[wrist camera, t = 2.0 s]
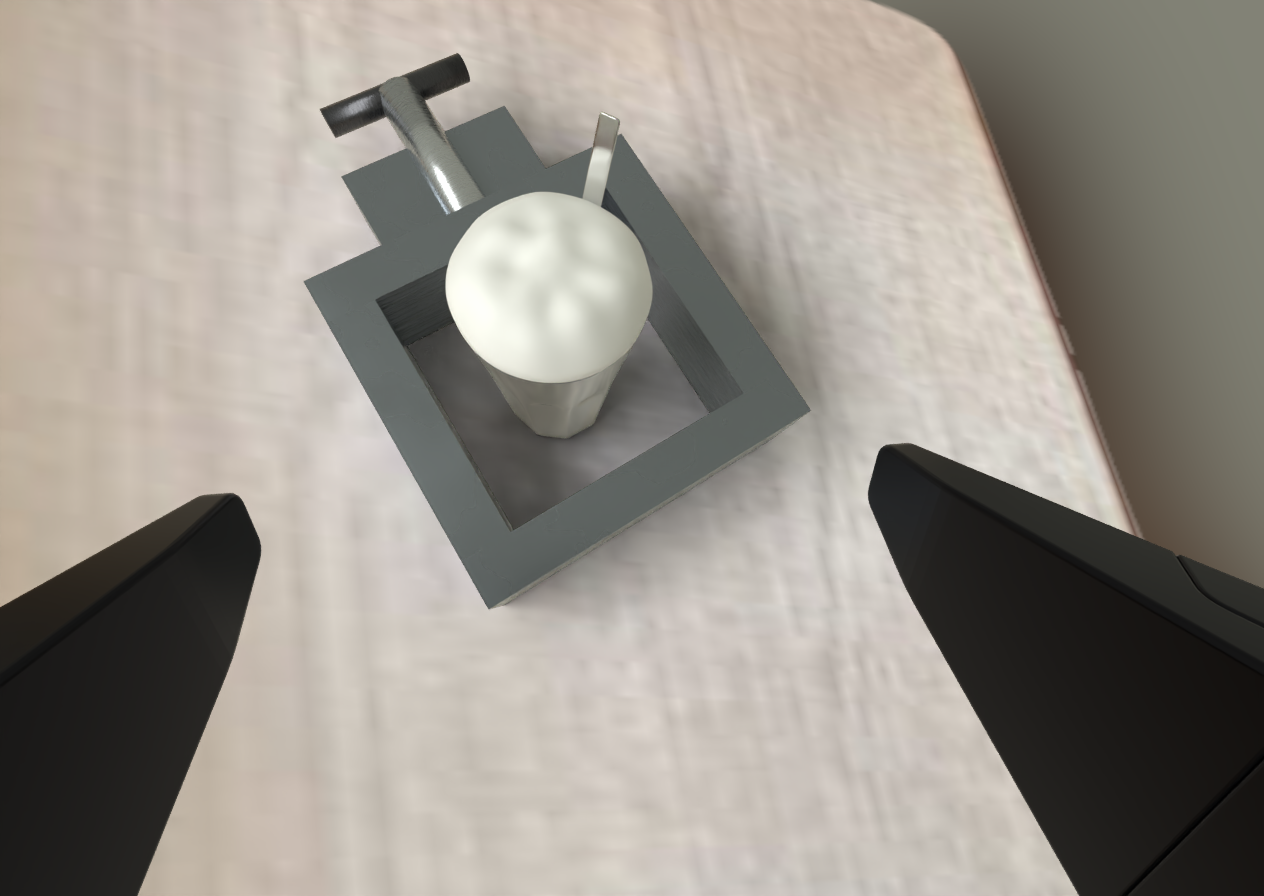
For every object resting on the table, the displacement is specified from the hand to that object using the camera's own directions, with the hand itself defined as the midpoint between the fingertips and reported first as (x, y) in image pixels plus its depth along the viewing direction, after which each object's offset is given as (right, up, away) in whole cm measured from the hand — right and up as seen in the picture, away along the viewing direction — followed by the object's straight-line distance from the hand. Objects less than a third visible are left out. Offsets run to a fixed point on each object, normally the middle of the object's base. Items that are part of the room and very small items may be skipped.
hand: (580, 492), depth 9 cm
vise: (-3, +5, +13) cm, 15 cm away
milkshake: (-2, +3, +13) cm, 13 cm away
